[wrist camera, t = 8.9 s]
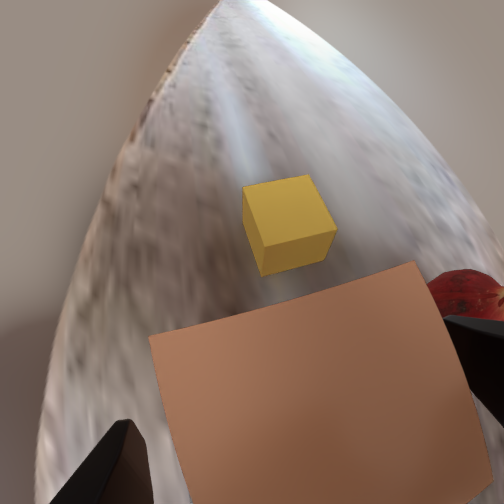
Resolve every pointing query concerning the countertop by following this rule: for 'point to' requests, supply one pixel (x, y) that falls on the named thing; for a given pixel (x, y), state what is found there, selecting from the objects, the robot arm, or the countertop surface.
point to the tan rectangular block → (325, 401)
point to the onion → (468, 295)
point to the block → (286, 224)
